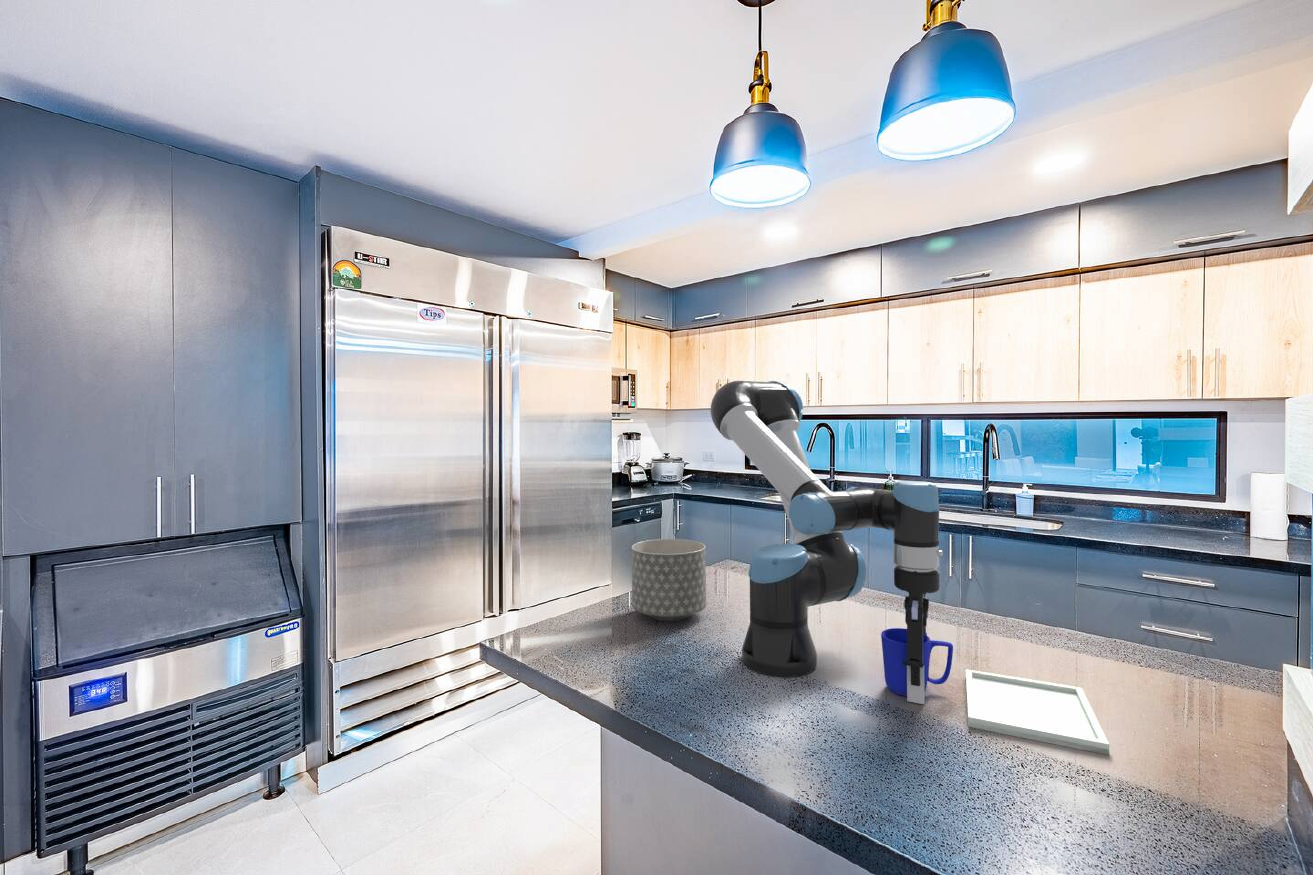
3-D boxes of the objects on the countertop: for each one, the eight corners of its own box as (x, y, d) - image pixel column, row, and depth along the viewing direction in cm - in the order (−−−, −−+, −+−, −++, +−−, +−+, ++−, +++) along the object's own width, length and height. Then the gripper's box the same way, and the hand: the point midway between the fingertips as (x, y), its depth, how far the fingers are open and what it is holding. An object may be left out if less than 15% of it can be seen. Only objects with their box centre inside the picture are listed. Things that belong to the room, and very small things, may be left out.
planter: (639, 603, 158) (638, 538, 157) (708, 605, 155) (707, 539, 155) (626, 627, 139) (625, 553, 139) (704, 630, 136) (703, 554, 136)
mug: (960, 704, 99) (959, 647, 98) (886, 698, 101) (885, 642, 101) (946, 683, 107) (945, 630, 106) (877, 678, 109) (877, 626, 109)
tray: (968, 726, 91) (968, 716, 91) (965, 677, 109) (965, 669, 109) (1109, 754, 83) (1109, 744, 83) (1081, 696, 101) (1081, 687, 101)
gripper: (938, 584, 92) (939, 722, 92) (940, 556, 111) (941, 670, 112) (888, 579, 95) (889, 712, 96) (898, 553, 115) (899, 663, 115)
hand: (917, 689), depth 104 cm, fingers open, 9 cm apart
